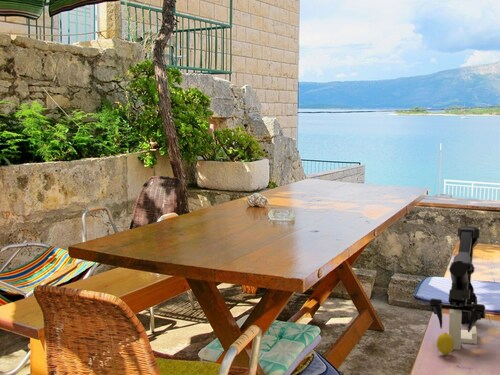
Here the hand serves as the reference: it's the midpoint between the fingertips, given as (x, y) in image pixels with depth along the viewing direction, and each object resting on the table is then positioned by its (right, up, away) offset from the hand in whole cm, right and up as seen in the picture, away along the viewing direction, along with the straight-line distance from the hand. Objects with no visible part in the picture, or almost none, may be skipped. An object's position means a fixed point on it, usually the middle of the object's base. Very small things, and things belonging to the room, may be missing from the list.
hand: (454, 329), depth 210 cm
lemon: (-5, -8, -5) cm, 10 cm away
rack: (+7, -5, +10) cm, 13 cm away
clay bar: (+1, -7, +2) cm, 7 cm away
